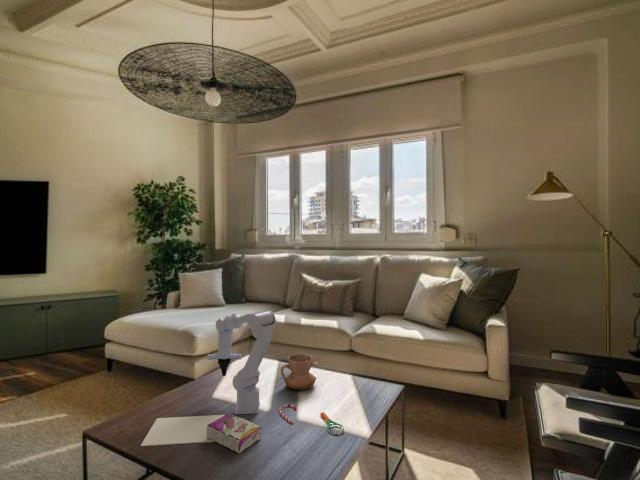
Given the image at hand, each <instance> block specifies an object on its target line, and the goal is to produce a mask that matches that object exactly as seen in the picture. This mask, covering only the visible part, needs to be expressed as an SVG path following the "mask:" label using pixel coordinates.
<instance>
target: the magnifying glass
mask: <svg viewBox="0 0 640 480" xmlns="http://www.w3.org/2000/svg"><path fill="white" fill-rule="evenodd" d="M319 415H320V416H321V418H322V417H323V418H324V419H325V420H326V421H327V422H328V424H327V431H328V430H329V431H330V430H331V428H330V426H332V424H330V423H333V425H339V426H341V427H343V431H344V432H345V427H344V426H343V425H342V424H340V423H338V422H336V421H334V420H332V419H330V417H329V416H328V415H327V414H326V413H325V412H324V411H323V412H320V414H319ZM323 418H322V419H323ZM324 419H323V420H324ZM325 420H324V421H325ZM326 421H325V422H326ZM327 422H326V423H327ZM329 428H330V429H329ZM341 431H342V430H341ZM343 431H342V432H343ZM330 432H332V433H334V432H335V431H332V430H331V431H330ZM339 432H340V431H339ZM340 433H341V432H340Z"/></svg>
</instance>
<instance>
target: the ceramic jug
mask: <svg viewBox="0 0 640 480" xmlns="http://www.w3.org/2000/svg"><path fill="white" fill-rule="evenodd" d="M313 360H314V359H313V356H312V355H311V354H308V353H296V354H291V355H288V356H287V364H286V363H284V364H283V365H281V367H280V375H281V377H282V379H283V382H284V384H285V385H286V386H287V387H288V388H289V389H292V390H296V391H304V390H308V389H311V388H312V387H313V386H314V385H315V383H316V380H317V377H316V376H314V374H313V373H311V372H310V370H311V368H312V367H314V366H315V367H316V366H317V367H318V362H316V361H315V362H313ZM284 369H289V370H290V373H289V374H288V375H287V376H285V374H284Z"/></svg>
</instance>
